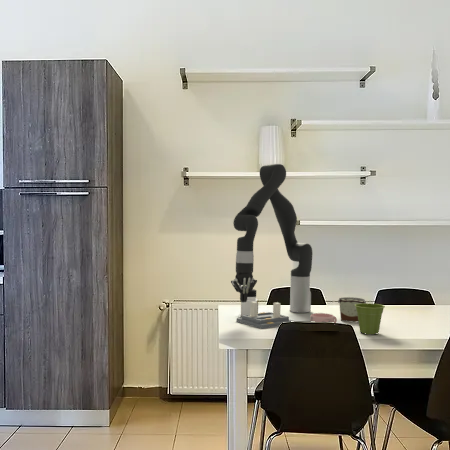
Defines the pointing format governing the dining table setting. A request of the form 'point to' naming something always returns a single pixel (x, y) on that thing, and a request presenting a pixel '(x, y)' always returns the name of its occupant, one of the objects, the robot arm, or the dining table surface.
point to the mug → (323, 317)
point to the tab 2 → (276, 310)
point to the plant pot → (369, 317)
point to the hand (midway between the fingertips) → (243, 302)
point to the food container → (349, 308)
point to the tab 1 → (253, 309)
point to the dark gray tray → (263, 320)
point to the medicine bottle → (248, 302)
